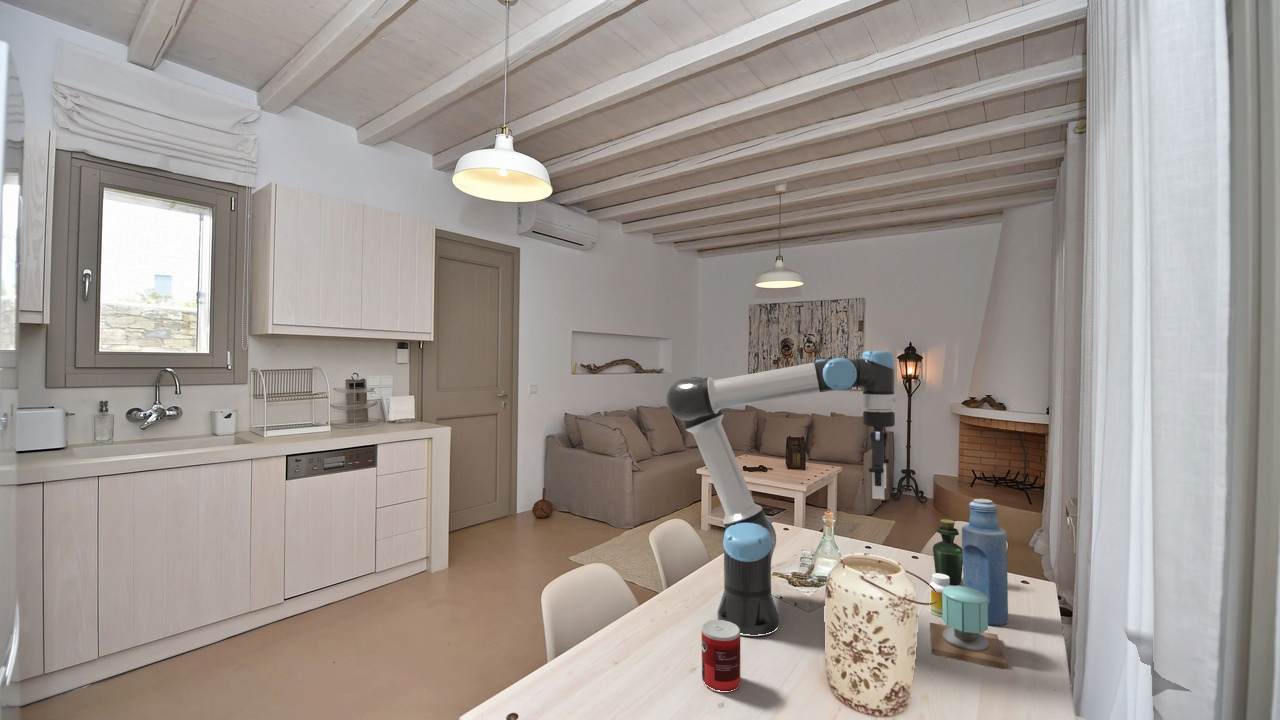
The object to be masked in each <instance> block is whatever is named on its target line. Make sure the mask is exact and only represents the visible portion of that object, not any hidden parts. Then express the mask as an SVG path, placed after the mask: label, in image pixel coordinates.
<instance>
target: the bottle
mask: <svg viewBox="0 0 1280 720" xmlns="http://www.w3.org/2000/svg"><path fill="white" fill-rule="evenodd" d="M968 506H969V508H970V509H969V512H970V514H969V520H968V523H965V524H963V525H962V526H961V544H962V545H961V546H962V547H961V548H962V554H963V567H962V576H963V577H962V584H963V585H962V586H963V587H969V588H972V589H976V590H978V591H980V592H982V593H984V594H985V595H986V596H987V603H988V626H992V627H996V626H1004V625H1007V624H1008V622H1009V600H1008V599H1009V597H1008V595H1009V591H1008V589H1009V587H1008V585H1009V584H1008V579H1009V578H1008V547H1007V546H1008V545H1007V543H1008V540H1007V539H1008V538H1007V537H1008V536H1007V535H1008V534H1007V531H1006V530H1005V529H1004V528H1002V527H1000V526H999V519H998V507H997V505H996V504H995V503H994V502H993V500H991V499H986V498H975V499H973V501H970V503H969V504H968Z"/></svg>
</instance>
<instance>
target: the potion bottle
mask: <svg viewBox="0 0 1280 720" xmlns="http://www.w3.org/2000/svg"><path fill="white" fill-rule="evenodd" d="M955 524H956V521H954V520H953V519H940V525H941V526H938V527H937V528H936V532H937V533H938V534H940V535H941V536H940V537H941V539H942V540H941V541H939V542H936V543H934V544H933V546H932V552H933V562H934V571H935V573H940V574H945V575H947V576H949V577H950V583H949V584H950V585H951V586H954V585H955V586H960V584H962V579H963V577H962V576H963V554H962V547H961V546H959V545H958V544H957V543H956V542H954V541H955V538H956V536H959V535H960V533H959V529H957V528H955Z"/></svg>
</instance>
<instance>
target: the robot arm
mask: <svg viewBox="0 0 1280 720" xmlns="http://www.w3.org/2000/svg"><path fill="white" fill-rule="evenodd" d="M861 354H862V355H861V358H855V359H853V358H851V359H850V358H845V357H840V356H839V357H834V358H823V359H816V360H815V362H810V363H804V364H798V365H793V366H788V367H781V368H777V369H770V370H765V371H759V372H753V373H747V374H742V375H737V376H732V377H730V376H729V377H725V378H721V379H720V378H719V379H714V378H712V377H711V376H710V377H709V376H708V377H700V376H692V377H686V378H681V379H678V380H676V381H675V382H674V383H672V385H671V386H670V387H669V388H668V390H667V393H666V405H667V408H668V411H669V412H670V413H671V415H673V416H674V417H675V418H676V419H679V420H681V422H682V424H683V426H684V428H685V429H684V430H685V431H686V432H688V433H691V434H692V435H693V437H694V439H695V443H696V445H697V447H698V449H699V452H700V455H701V457H702V459H703V463H704V464H705V467H706V469H707V471H708V474H709V476H710V479H711V482H712V484H713V486H714V488H715V491H716V494H717V496H718V499H719V501H720V504H721V506H722V509H723V511H724V513H725V514H724V518H723V520H722V523H723V525H724V528H725V531H724V534H723V536H724V537H723V541H722V545H723V572H724V573H723V581H724V584H723V586H724V587H723V593H722V596H721V599H720V601H719V602H720V603H719V606H718V609H717V620H724V621H728V622H731V623H734V624H735V625H737V626H738V627H739V629H740V633H743V634H750V635H758V634H766V633H769V632H772V631H774V630H775V629H776V628H777V627H778V625H779V626H780V624H779V623H780V619H779V618H780V617H779V614H778V613H779V612H778V611H777V607H776V604H775V600H774V597H773V595H772V558H773V555H774V551H775V548H776V544H777V534H776V530H775V528H774V526H773V524H772V522H771V521H770V520H769V519H768V518H767V515H766V513H765V511H764V509H763V507H762V506H761V505H759V504H757V503H755V501H754V498H753V495H752V493H751V491H750V488H749V487H748V484H747V483H746V480H745V478H744V475H743V473H742V470H741V467H740V465H739V463H738V460H737V458H736V456H735V453H734V451H733V448H732V446H731V444H730V442H729V438H728V436H727V434H726V431H725V430H724V426H723V424H722V421H723V418H724V413H723V410H722V409H728V408H729V409H730V408H735V407H741V406H746V405H753V404H759V403H764V402H770V401H777V400H783V399H788V398H794V397H795V398H796V397H800V396H807V395H812V394H819V393H825V392H826V393H827V392H833V391H843V390H847V389H850V388H857V389H858V388H862V409H863V410H864V411H863V412H862V424H863V425H864V426H865V427H873V431H870V435H869V436H870V447H871V450H872V453H871V454H872V455H871V468H868V472H869V473H871V488H872V489H871V490H872V492H871V493H872V494H871V495H872V497H871V498H872V499H876V500H885V489H887V464H889V463H890V462H889V461H890V460H889V459H888V458H887V455H886V454H887V451H886V449H887V445H888V436H889V435H888V432H886V428H891V427H894V426H895V425H896V421H895V420H896V418H895V417H896V416H895V415H896V414H895V412H894V411H893V410H895V402H898V399H897V397H895V363H894V361H895V360H894V354H893V353H892V352H891V351H889V350H872V351H871V350H870V351H867V350H866V351H863V352H862V353H861ZM778 628H779V627H778Z"/></svg>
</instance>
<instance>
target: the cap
mask: <svg viewBox="0 0 1280 720" xmlns="http://www.w3.org/2000/svg"><path fill="white" fill-rule="evenodd" d="M942 612H943V617H942V621H943V622H944V624H945V625H947V626H949V627H952V628H954V629H957V630H959V631H964V632H970V633H982V632H986V631H988V630H989V625H988V603H987V596H986V595H985V594H984V593H982V592H980V591H978V590H976V589H972V588H969V587H963V585H962V586H961V585H956V586H954V585H951V586H946V587H944V588H943V589H942Z"/></svg>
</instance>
